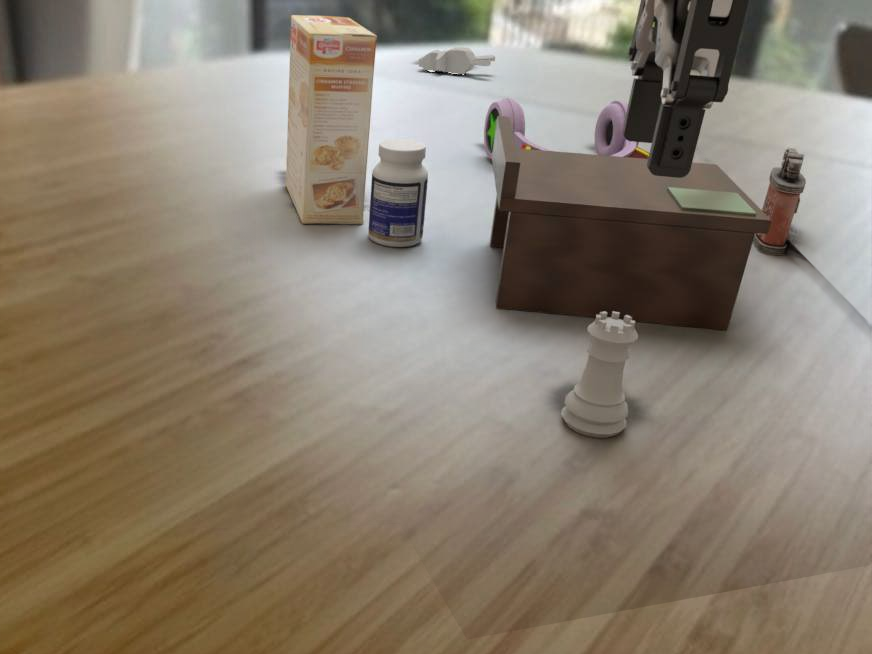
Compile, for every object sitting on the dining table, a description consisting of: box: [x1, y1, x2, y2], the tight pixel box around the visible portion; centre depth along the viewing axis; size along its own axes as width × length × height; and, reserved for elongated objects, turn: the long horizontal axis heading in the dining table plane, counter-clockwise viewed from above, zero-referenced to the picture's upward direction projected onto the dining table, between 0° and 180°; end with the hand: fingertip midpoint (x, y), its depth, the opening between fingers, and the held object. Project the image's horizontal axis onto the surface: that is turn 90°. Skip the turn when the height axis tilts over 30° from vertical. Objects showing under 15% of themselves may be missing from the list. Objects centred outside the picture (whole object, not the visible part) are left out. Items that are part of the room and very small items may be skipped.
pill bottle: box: [367, 138, 429, 248], centre depth 93 cm, size 6×6×10 cm
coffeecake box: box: [285, 14, 378, 225], centre depth 100 cm, size 15×7×20 cm, turn 9°
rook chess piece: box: [560, 311, 639, 439], centre depth 61 cm, size 4×4×8 cm
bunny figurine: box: [418, 46, 496, 75], centre depth 187 cm, size 10×5×15 cm
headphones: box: [483, 97, 650, 160], centre depth 120 cm, size 20×10×20 cm
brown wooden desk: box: [489, 116, 772, 331], centre depth 84 cm, size 22×18×13 cm
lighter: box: [752, 147, 807, 256], centre depth 98 cm, size 8×3×10 cm, turn 161°
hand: (651, 156), depth 54 cm, fingers open, 8 cm apart
